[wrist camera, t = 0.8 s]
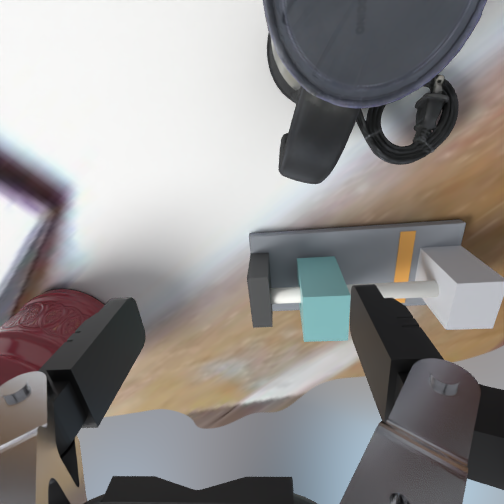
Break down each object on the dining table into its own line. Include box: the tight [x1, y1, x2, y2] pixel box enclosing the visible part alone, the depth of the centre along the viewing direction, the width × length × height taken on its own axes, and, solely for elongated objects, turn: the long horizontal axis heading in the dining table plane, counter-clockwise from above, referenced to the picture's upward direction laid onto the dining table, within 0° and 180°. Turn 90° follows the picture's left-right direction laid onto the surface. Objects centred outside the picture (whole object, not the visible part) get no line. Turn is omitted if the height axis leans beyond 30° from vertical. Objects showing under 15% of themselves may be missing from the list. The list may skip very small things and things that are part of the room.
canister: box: [0, 289, 104, 386], centre depth 33 cm, size 13×13×18 cm
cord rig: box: [247, 220, 504, 330], centre depth 30 cm, size 10×22×8 cm, turn 96°
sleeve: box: [297, 256, 351, 342], centre depth 30 cm, size 5×4×7 cm
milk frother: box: [263, 0, 487, 184], centre depth 19 cm, size 14×16×15 cm
